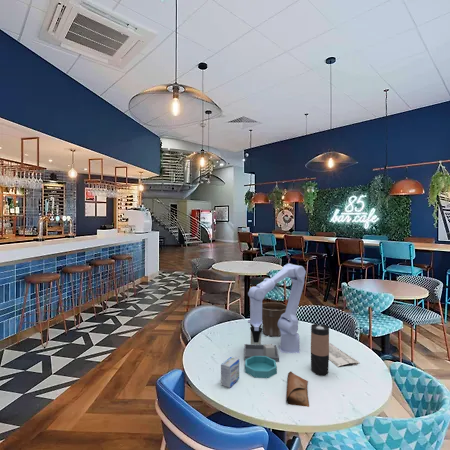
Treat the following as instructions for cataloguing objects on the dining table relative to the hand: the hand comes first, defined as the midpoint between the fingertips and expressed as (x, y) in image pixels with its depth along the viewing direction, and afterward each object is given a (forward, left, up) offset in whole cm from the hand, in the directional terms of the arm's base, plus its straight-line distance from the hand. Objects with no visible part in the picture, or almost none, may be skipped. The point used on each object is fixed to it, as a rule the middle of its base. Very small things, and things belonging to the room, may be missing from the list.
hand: (255, 340), depth 137 cm
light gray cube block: (-7, -3, -8) cm, 11 cm away
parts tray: (-3, -3, -9) cm, 10 cm away
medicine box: (+11, +21, -9) cm, 25 cm away
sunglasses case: (-15, +25, -10) cm, 31 cm away
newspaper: (-40, -7, -10) cm, 41 cm away
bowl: (-2, +11, -9) cm, 14 cm away
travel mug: (-28, +10, -9) cm, 31 cm away
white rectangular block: (0, 0, -1) cm, 1 cm away
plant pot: (-12, -32, -9) cm, 35 cm away
